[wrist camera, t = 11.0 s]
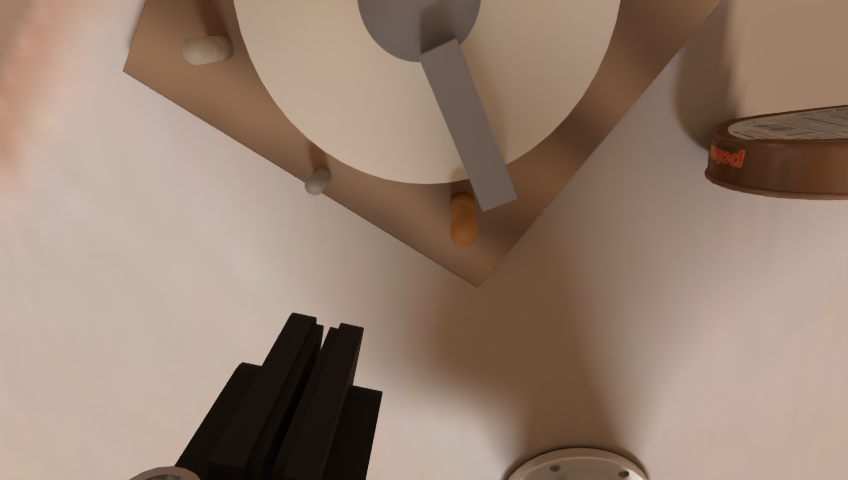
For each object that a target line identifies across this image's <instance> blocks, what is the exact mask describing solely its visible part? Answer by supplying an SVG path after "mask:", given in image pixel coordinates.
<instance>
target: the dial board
mask: <svg viewBox="0 0 848 480" xmlns="http://www.w3.org/2000/svg"><path fill="white" fill-rule="evenodd" d="M720 1H721V0H620V5H619V10H618V15H617V20H616V24H615V27H614V30H613V33H612V36H611V39H610V42H609V46H608V49H607V51H606V53H605V55H604V57H603V60H602V62H601V64H600V66H599V69H598V71H597V73H596V75H595V76H594V78H593V80H592V81H591V83H590V85H589V87H588V88H587V90H586V92H585V93H584V95H583V96H582V98H581V99H580V100H579V102H578V103H577V104H576V106H575V107H574V108H573V110H572V111H571V112H570V113H569V115H568V116H567V117H566V118H565V119H564V120H563V121H562V122H561V123H560V124H559V125H558V127H557V128H556V129H555V130H554V131H553V132H552V133H551V134H550V135H548V136H547V137H546V138H545V139H544V140H542V141H541V142H540V143H539V144H537V145H536V146H535V147H534V148H533V149H531V150H530V151H528V152H527V153H525V154H523V155H522V156H520V157H519V158H517V159H515V160H514V161H512V162H510V163H508V164H506V168H507V171H508V174H509V176H510V179H511V182H512V185H513V187H514V190H515V193H516V196H517V198H518V199H516V200H513V201H510V202H508V203H505V204H502V205H500V206H497V207H495V208H492V209H489V210H487V211H484V212H483V211H482V208H481V206H480V203H479V201H478V199H477V196H476V194H475V191H474V189H473V187H472V184H471V182H470V179H465V180H460V181H455V182H450V183H436V184H417V183H404V182H398V181H393V180H387V179H383V178H380V177H377V176H374V175H370V174H367V173H364V172H362V171H360V170H358V169H355V168H353V167H351V166H349V165H346V164H344V163H343V162H341V161H339V160H338V159H336V158H334V157H333V156H331V155H329V154H328V153H326V152H325V151H323V150H322V149H321V148H320V147H318V146H317V145H316V144H314V143H313V142H312V141H311V140H309V139H308V138H307V137H306V136H305V135H304V134H303V133H302V132H301V131H300V130H299V129H298V128H297V127H296V126H295V125H294V124H293V123H292V122H291V121H290V120H289V119H288V118H287V117H286V115H285V114H284V113H283V112H282V110H281V109H280V108H279V107H278V105H277V104H276V103H275V102H274V100H273V98H272V97H271V95H270V94H269V92H268V90H267V89H266V87H265V86H264V84H263V83H262V81H261V79H260V77H259V75H258V73H257V71H256V69H255V67H254V65H253V63H252V61H251V59H250V56H249V53H248V51H247V48H246V45H245V42H244V40H243V37H242V34H241V31H240V27H239V22H238V18H237V14H236V10H235V6H234V0H146V3H145V6H144V9H143V12H142V15H141V18H140V21H139V24H138V27H137V30H136V33H135V36H134V39H133V42H132V45H131V48H130V51H129V54H128V57H127V60H126V63H125V66H124V69H123V72H125V73H126V74H128V75H130V76H131V77H133V78H134V79H136V80H138V81H139V82H141V83H143V84H144V85H146V86H148V87H149V88H151V89H152V90H154V91H156V92H157V93H159V94H161V95H162V96H164V97H166V98H167V99H169V100H171V101H172V102H174V103H175V104H177V105H179V106H180V107H182V108H184V109H185V110H187V111H189V112H190V113H192V114H193V115H195V116H197V117H198V118H200V119H202V120H203V121H205V122H207V123H208V124H210V125H211V126H213V127H215V128H216V129H218V130H220V131H221V132H223V133H225V134H226V135H228V136H230V137H231V138H233V139H234V140H236V141H238V142H239V143H241V144H243V145H244V146H246V147H248V148H249V149H251V150H252V151H254V152H256V153H257V154H259V155H261V156H262V157H264V158H266V159H267V160H269V161H271V162H272V163H274V164H275V165H277V166H279V167H280V168H282V169H284V170H285V171H287V172H289V173H290V174H292V175H293V176H295V177H297V178H298V179H300V180H302V181H303V182H305V189H306V191H307V192H308V193H310V194H312V195H318V194H320V193H323V194H325V195H326V196H328V197H330V198H331V199H333V200H334V201H336V202H338V203H339V204H341V205H343V206H344V207H346V208H348V209H349V210H351V211H352V212H354V213H356V214H357V215H359V216H361V217H362V218H364V219H366V220H367V221H369V222H371V223H372V224H374V225H375V226H377V227H379V228H380V229H382V230H384V231H385V232H387V233H389V234H390V235H392V236H393V237H395V238H397V239H398V240H400V241H402V242H403V243H405V244H407V245H408V246H410V247H411V248H413V249H415V250H416V251H418V252H420V253H421V254H423V255H425V256H426V257H428V258H430V259H431V260H433V261H434V262H436V263H438V264H439V265H441V266H443V267H444V268H446V269H448V270H449V271H451V272H452V273H454V274H456V275H457V276H459V277H461V278H462V279H464V280H466V281H467V282H469V283H471V284H472V285H474V286H475V287H477V288H478V287H479V286H480V284H481V283H482V282H483V281H484V280H485V279H486V277H487V276H488V275H489V274H490V273H491V271H492V270H493V269H494V268H495V267H496V266H497V264H498V263H499V262H500V261H501V260H502V258H503V257H504V256H505V255H506V254H507V253H508V251H509V250H510V249H511V248H512V247H513V245H514V244H515V243H516V242H517V241H518V240H519V238H520V237H521V236H522V235H523V234H524V233H525V231H526V230H527V229H528V228H529V227H530V225H531V224H532V223H533V222H534V221H535V220H536V218H537V217H538V216H539V215H540V214H541V212H542V211H543V210H544V209H545V208H546V207H547V205H548V204H549V203H550V202H551V201H552V199H553V198H554V197H555V196H556V195H557V194H558V192H559V191H560V190H561V189H562V188H563V187H564V185H565V184H566V183H567V182H568V181H569V179H570V178H571V177H572V176H573V175H574V174H575V172H576V171H577V170H578V169H579V168H580V166H581V165H582V164H583V163H584V162H585V161H586V159H587V158H588V157H589V156H590V155H591V154H592V152H593V151H594V150H595V149H596V148H597V146H598V145H599V144H600V143H601V142H602V141H603V139H604V138H605V137H606V136H607V135H608V133H609V132H610V131H611V130H612V129H613V128H614V126H615V125H616V124H617V123H618V122H619V120H620V119H621V118H622V117H623V116H624V115H625V113H626V112H627V111H628V110H629V109H630V108H631V106H632V105H633V104H634V103H635V102H636V100H637V99H638V98H639V97H640V96H641V95H642V93H643V92H644V91H645V90H646V89H647V87H648V86H649V85H650V84H651V83H652V82H653V80H654V79H655V78H656V77H657V76H658V74H659V73H660V72H661V71H662V70H663V69H664V67H665V66H666V65H667V64H668V63H669V62H670V60H671V59H672V58H673V57H674V56H675V54H676V53H677V52H678V51H679V50H680V49H681V47H682V46H683V45H684V44H685V43H686V41H687V40H688V39H689V38H690V37H691V36H692V34H693V33H694V32H695V31H696V30H697V29H698V27H699V26H700V25H701V24H702V23H703V21H704V20H705V19H706V18H707V17H708V16H709V14H710V13H711V12H712V11H713V10H714V8H715V7H716V6H717V5H718V4H719V3H720Z"/></svg>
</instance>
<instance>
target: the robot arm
mask: <svg viewBox="0 0 848 480" xmlns="http://www.w3.org/2000/svg"><path fill="white" fill-rule="evenodd" d="M316 321H317V320H316V317H312V316H307V315H303V314H298V313H292V314H291V315H290V317H289V318H288V320H287V322H286V324H285V326H284V327H283V329H282V331H281V333H280V334H279V336H278V338H277V340H276V342H275V343H274V345H273V347H272V349H271V350H270V352H269V354H268V356H267V357H266V359H265V361H264V363H263V365H262V366H258V365H254V364H249V363H244V362H242V363H241V364H239V366H238V367H237V368H236V370H235V371H234V373H233V374H232V376H231V378H230V379H229V381H228V382H227V384H226V385H225V387H224V389H223V390H222V392H221V393H220V395H219V396H218V398H217V400H216V401H215V403H214V404H213V406H212V408H211V409H210V411H209V412H208V414H207V415H206V417H205V419H204V420H203V422H202V423H201V425H200V426H199V428H198V430H197V431H196V433H195V434H194V436H193V437H192V439H191V441H190V442H189V444H188V445H187V447H186V448H185V450H184V452H183V453H182V455H181V456H180V458H179V460H178V461H177V463H176V464H175V466H170V467H158V468H155V469H151V470H148V471H145V472H142V473H140V474H139V475H137V476H135V477H133V478H131V479H130V480H366V475H367V470H368V465H369V460H370V454H371V449H372V444H373V439H374V434H375V429H376V424H377V419H378V413H379V408H380V403H381V398H382V391H377V390H372V389H368V388H363V387H358V386H353V381H354V376H355V371H356V366H357V361H358V356H359V351H360V346H361V341H362V336H363V330H364V328H363V327H358V326H354V325H349V324H344V323H341V324H340V326H339V328H338V329H337V328H333V327H330V329H329V331H328V333H327V336H326V338H325V341H324V343H323V346H322V348H321V343H322V337H323V330H324V326H323V325H319V324H316ZM320 350H321V351H320ZM508 480H647V478H646V476H645V475H644V473H643V472H642V471H641V470H640V469H639V468H638V467H637V466H636V465H635V464H634V463H632V462H631V461H629V460H627V459H626V458H624V457H622V456H619V455H617V454H614V453H612V452H608V451H603V450H599V449H590V448H568V449H562V450H557V451H552V452H549V453H546V454H543V455H540V456H538V457H536V458H534V459H532V460H530V461H528V462H526V463H525V464H524V465H522V466H521V467H519V468H518V469H517V470H516V471H515V472H514V473H513V474H512V475H511V476H510V477H509V479H508Z"/></svg>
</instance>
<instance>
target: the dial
mask: <svg viewBox="0 0 848 480" xmlns="http://www.w3.org/2000/svg"><path fill="white" fill-rule="evenodd" d="M619 5H620V0H234V6H235V10H236V14H237V18H238V22H239V27H240V31H241V34H242V37H243V40H244V42H245V45H246V48H247V51H248V53H249V56H250V59H251V61H252V63H253V65H254V67H255V69H256V71H257V73H258V75H259V77H260V79H261V81H262V83H263V84H264V86H265V87H266V89H267V90H268V92H269V94H270V95H271V97H272V98H273V100H274V102H275V103H276V104H277V105H278V107H279V108H280V109H281V110H282V112H283V113H284V114H285V115H286V117H287V118H288V119H289V120H290V121H291V122H292V123H293V124H294V125H295V126H296V127H297V128H298V129H299V130H300V131H301V132H302V133H303V134H304V135H305V136H306V137H307V138H308V139H309V140H311V141H312V142H313V143H314V144H316V145H317V146H318V147H320V148H321V149H322V150H323V151H325V152H326V153H328V154H329V155H331V156H333V157H334V158H336V159H338V160H339V161H341V162H343V163H344V164H346V165H349V166H351V167H353V168H355V169H358V170H360V171H362V172H364V173H367V174H370V175H374V176H377V177H380V178H383V179H387V180H393V181H398V182H404V183H417V184H436V183H450V182H455V181H460V180H465V179H470V182H471V184H472V187H473V189H474V191H475V194H476V196H477V199H478V201H479V203H480V206H481V208H482V211H483V212H484V211H487V210H489V209H492V208H495V207H497V206H500V205H502V204H505V203H508V202H510V201H513V200H516V199H518V198H517V196H516V193H515V190H514V187H513V185H512V182H511V179H510V176H509V174H508V171H507V168H506V164H508V163H510V162H512V161H514V160H515V159H517V158H519V157H520V156H522V155H523V154H525V153H527V152H528V151H530V150H531V149H533V148H534V147H535V146H536V145H537V144H539V143H540V142H541V141H542V140H544V139H545V138H546V137H547V136H548V135H550V134H551V133H552V132H553V131H554V130H555V129H556V128H557V127H558V125H559V124H560V123H561V122H562V121H563V120H564V119H565V118H566V117H567V116H568V115H569V113H570V112H571V111H572V110H573V108H574V107H575V106H576V104H577V103H578V102H579V100H580V99H581V98H582V96H583V95H584V93H585V92H586V90H587V88H588V87H589V85H590V83H591V81H592V80H593V78H594V76H595V75H596V73H597V71H598V69H599V66H600V64H601V62H602V60H603V57H604V55H605V53H606V51H607V49H608V46H609V42H610V39H611V36H612V33H613V30H614V27H615V24H616V20H617V15H618V10H619Z"/></svg>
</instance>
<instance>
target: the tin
mask: <svg viewBox="0 0 848 480" xmlns="http://www.w3.org/2000/svg"><path fill="white" fill-rule="evenodd" d="M705 176H706V178H707V179H708V180H709V181H711V182H712V183H714V184H716V185H719V186H721V187H725V188H727V189H730V190H734V191H739V192H743V193H749V194H754V195H761V196H766V197H777V198H788V199H806V200H848V105H842V106H832V107H823V108H814V109H806V110H798V111H790V112H781V113H773V114H765V115H757V116H751V117H745V118H739V119H735V120H731V121H727V122H724V123H722V124H720V125H718V126H717V127H716V128H715V129H714V130H713V132H712V135H711V140H710V147H709V157H708V167H707V168H706V170H705Z"/></svg>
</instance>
